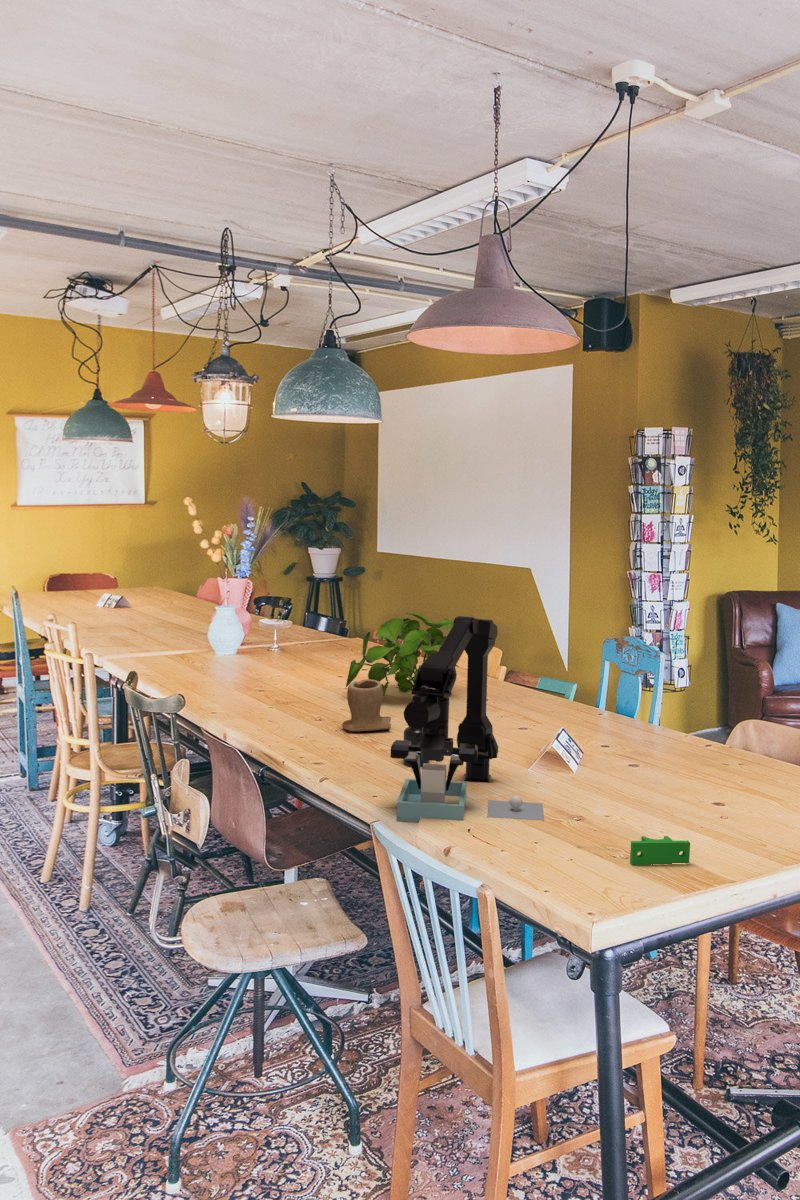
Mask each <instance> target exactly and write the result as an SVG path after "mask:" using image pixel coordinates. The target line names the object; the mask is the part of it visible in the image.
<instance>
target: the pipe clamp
mask: <svg viewBox="0 0 800 1200" xmlns="http://www.w3.org/2000/svg"><path fill="white" fill-rule="evenodd" d="M640 838H641V839H640V840H634V841H633V840H631V841H630V851H629V853H630V857H629V858H630V859H629V864H630V865H631V866H654V865H653V864H672V863H689V864H690V858H691V857H690V855H691V853H690V852H691V842H690V841H689V840H673V839H671V838H670V836H668V835H663V838H662V839H661V838H660V839H656V838H649V837H647V836H645V835H642V836H641V837H640ZM639 853H640V854H639ZM680 853H681V854H680ZM651 864H652V865H651Z"/></svg>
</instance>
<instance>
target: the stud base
mask: <svg viewBox="0 0 800 1200" xmlns="http://www.w3.org/2000/svg"><path fill="white" fill-rule="evenodd" d="M487 800H488V799H487ZM486 818H494V819H495V818H496V819H512V820H515V819H516V820H527V821H528V820H529V821H545V815H544V806H543V803H541V802H527V801H526V802H525V801H523V799H522V797H521V796H519V795H516V794H514V795H512V796H511V797H510V798H509V800H492V799H491V800H488V801H487V813H486Z"/></svg>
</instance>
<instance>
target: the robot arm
mask: <svg viewBox="0 0 800 1200" xmlns="http://www.w3.org/2000/svg"><path fill="white" fill-rule="evenodd" d="M453 622H454V623H453V627H452V628H451V629H449V632H448V634H447V635H446V636H447V637H446V639H445V640H444V642H443V644H442V645H441V647H440V648H438V650H437V651H438V652H437V653H435V654H433V655H431V656H430V655H429V657H427V656H426V659H425V661H424V662H423V661H422V663H421V666H420V667H419V666H418V668H419V670H418V673H417V676H416V679H415V682H414V683H413V688H412V690H411V695H413V696H412V701H411V702H409V703H408V704H407V705H405V708H404V711H403V718H404V721H405V722H406V724H407V726H408V725H409V726H411V727H412V728H416V729H418V728H422V737H421V739H420V746H415V745H411V741H405V740H402V739H401V740H400V739H395V740H394V741H393V742H392V744H391V746H390V758H391V759H396V760H397V759H401V760H403V759H404V762H406V763H409V764H410V766H411V767H410V766H409V767H410V768H411V770H412V772H413V774H414V779H416V782H417V785H418V788H419V789H421V778H422V768H421V767H420V755H421V759H422V760H423V761H428V760H429V762H430V761H431V762H432V761H434V762H440V763H441V762H443V761H444V759H445V756H446V757H450V759H449V764H448V765H449V766H448V770H447V771H448V772H447V775H446V781H447V782H446V791H448V789H449V786H450V783H451V781H453V780H452V779H453V777H454V775H455V772H456V771H457V769H458V767H459V766H463V765H464V763H465V773H464V775H463V779H462V782H467V783H484V784H488V783H489V784H490V783H491V781H492V780H491V779H492V777H491V774H490V760H493V759H498V753H499V745H498V742H497V741H496V740H497V739H496V737H495V736H494V734H493V730H494V729H493V724H492V723H491V720H490V719H489V717H488V715H487V699H488V697H487V695H488V692H487V691H488V690H487V689H488V662H489V661H488V660H489V659H488V658H489V654H490V653H491V651H492V650H493V648H494V647H495V645H496V638H497V637H498V626H497V624H495V623H494V621H493V619H483V618H477V617H475V616H462V615H459V616H455V618H454V619H453ZM464 651H465V654H466V656H467V673H466V674H467V678H466V680H467V681H466V709H465V710H466V714H465V717H464V719H462V722H460V723H459V725H458V727H457V728H458V730H457V731H458V732H457V734H456V735H457V736H456V744H457V746H456V747H454V738H452V737H449V723H450V722H449V720H450V719H449V718H450V716H449V715H450V714H449V713H450V697H452V694H453V693H452V691H453V688H454V685H455V684H456V680H457V670H456V667H457V666H456V665H457V664H458V662H459V660H460V659H461V657H462V654H463V653H464ZM421 686H423V687H425V688H422V687H421ZM409 726H408V727H409ZM419 754H420V755H419Z"/></svg>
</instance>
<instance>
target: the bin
mask: <svg viewBox="0 0 800 1200" xmlns="http://www.w3.org/2000/svg"><path fill="white" fill-rule="evenodd" d="M446 782H447V780H446ZM467 786H468V782H464V781H453V780H451V783H450V786H449V789H448V791H446V784H445V796H451V797H453V796H454V797H459V800H458V801H459V803H445V804H443V803H425V802H421V789H419V788H418V785H417V782H416V778H405V779H404V782H403V785H402V787H401V791H400V793H399V796H398V799H397V801H396V819H395V820H396V822H409V823H410V822H411V823H420V820H421V819H434V820H435V819H436V820H450V821H451V820H452V821H464V817H465V809H466V803H467V801H466V800H467Z"/></svg>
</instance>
